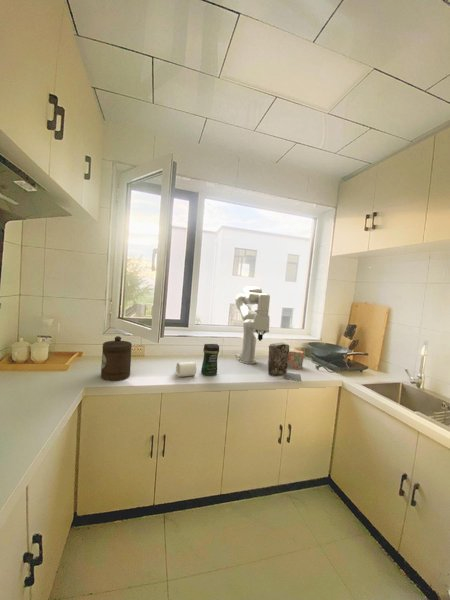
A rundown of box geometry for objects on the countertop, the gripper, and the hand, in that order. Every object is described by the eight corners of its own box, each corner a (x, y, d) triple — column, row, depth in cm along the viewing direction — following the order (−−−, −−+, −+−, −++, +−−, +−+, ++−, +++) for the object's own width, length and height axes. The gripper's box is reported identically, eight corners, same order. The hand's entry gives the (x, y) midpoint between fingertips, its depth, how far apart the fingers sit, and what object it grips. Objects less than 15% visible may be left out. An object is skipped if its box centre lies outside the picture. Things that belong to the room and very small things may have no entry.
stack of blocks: (272, 366, 184) (273, 349, 184) (271, 363, 191) (272, 347, 190) (302, 369, 183) (304, 352, 182) (300, 366, 190) (301, 350, 189)
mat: (283, 378, 161) (283, 377, 161) (283, 372, 173) (283, 371, 173) (301, 381, 159) (301, 380, 159) (300, 375, 171) (300, 374, 170)
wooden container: (105, 370, 147) (108, 333, 146) (132, 371, 150) (135, 334, 148) (96, 380, 133) (99, 338, 131) (126, 381, 135) (129, 340, 133)
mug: (196, 377, 150) (197, 364, 149) (179, 379, 145) (180, 365, 145) (189, 370, 160) (190, 357, 160) (173, 371, 156) (174, 358, 155)
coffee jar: (203, 376, 152) (206, 345, 151) (199, 371, 160) (202, 342, 158) (218, 375, 156) (221, 345, 155) (214, 370, 163) (216, 342, 162)
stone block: (279, 370, 175) (281, 341, 173) (287, 373, 169) (289, 343, 168) (266, 374, 166) (268, 343, 165) (274, 377, 161) (276, 346, 160)
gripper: (250, 312, 166) (248, 340, 167) (274, 314, 163) (271, 343, 164) (251, 311, 173) (249, 337, 174) (274, 313, 170) (271, 340, 171)
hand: (259, 340), depth 169 cm, fingers closed
